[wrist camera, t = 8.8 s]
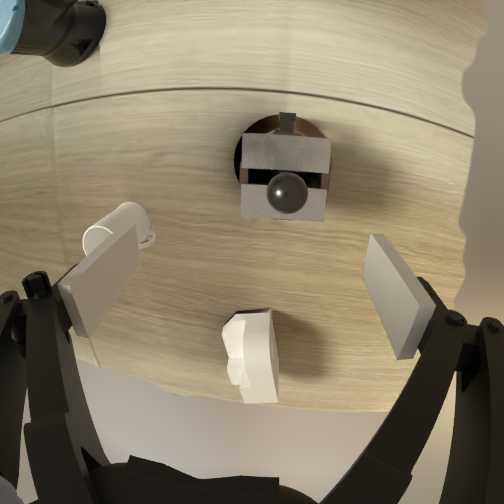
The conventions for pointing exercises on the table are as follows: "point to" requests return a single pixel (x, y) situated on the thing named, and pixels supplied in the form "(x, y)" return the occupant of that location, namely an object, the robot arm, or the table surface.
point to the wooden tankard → (284, 158)
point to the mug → (115, 220)
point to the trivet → (270, 124)
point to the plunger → (285, 190)
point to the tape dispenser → (252, 355)
